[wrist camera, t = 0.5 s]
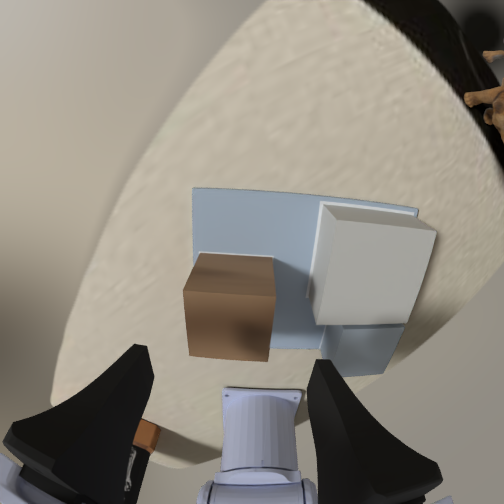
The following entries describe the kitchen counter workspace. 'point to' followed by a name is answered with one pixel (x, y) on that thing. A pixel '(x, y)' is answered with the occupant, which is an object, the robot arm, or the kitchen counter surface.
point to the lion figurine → (490, 97)
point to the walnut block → (230, 307)
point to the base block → (368, 266)
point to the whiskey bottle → (139, 459)
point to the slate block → (360, 347)
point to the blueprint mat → (273, 246)
